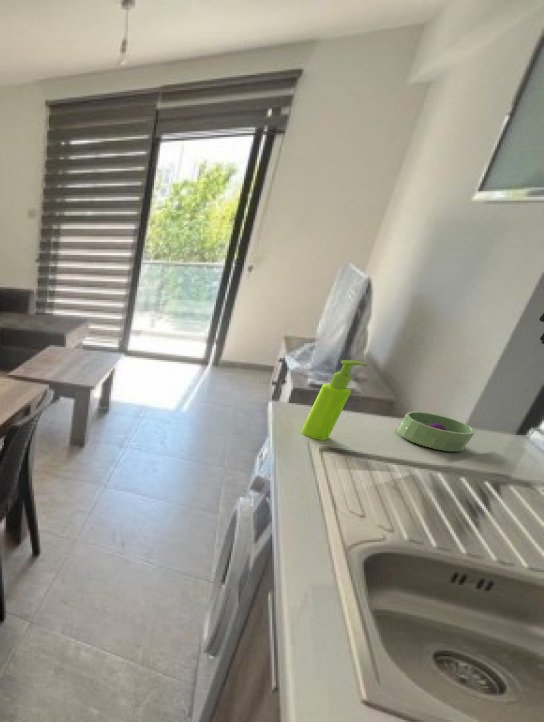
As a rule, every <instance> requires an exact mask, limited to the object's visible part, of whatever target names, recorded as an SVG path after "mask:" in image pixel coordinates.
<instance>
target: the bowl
mask: <svg viewBox="0 0 544 722" xmlns="http://www.w3.org/2000/svg"><path fill="white" fill-rule="evenodd" d="M432 423H437V424H441V425H443V426H444V427H445V428H446V430H447V431H445V430H440V429H437V428H433V427H430V426H427V425H429V424H432ZM396 432H397V434H398V435H399V436H401V437H402V438H404V439H405V440H407V441H409V442H410V443H413V444H415V443H416V444H415V445H418V444H419V445H418V446H421V445H422V446H421V447H424V446H425V447H424V448H427V447H429V448H428V449H431V448H433V449H432V450H435V449H436V451H441V450H442V452H461V451H464V449H465V448H466V446H467V445H468V444H469V442H470V440H471V439H472V438H473V436H474V434H475V432H476V430H475V429H474V428H473V427H472V426H470V425H468V424H467V423H464V422H462V421H460V420H457V419H454V418H452V417H451V418H450V417H448V416H443V415H440V414H435V413H430V412H423V411H408V412H407V413H406V414H405V415H404V417H403V419H402V421H401V422H400V424H399V426H398V427H397V429H396Z"/></svg>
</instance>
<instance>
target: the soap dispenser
mask: <svg viewBox="0 0 544 722" xmlns="http://www.w3.org/2000/svg"><path fill="white" fill-rule="evenodd" d="M340 364H342V367H341V369H340V371H336V372H334V374H333V376H332V378H331V381H330V382H329V383H323V384H322V385H321V388H320V390H319V393H318V394H317V396H316V398H315V401H314V403H313V405H312V407H311V409H310V410H309V413H308V415H307V418H306V419H305V422H304V424H303V427H302V428H301V434H303V435H304V436H306V437H308V438H311V439H315V440H321V441H326V440H328V439H329V438H330V435H331V434H332V431H333V430H334V427H335V425H336V423H337V421H338V419H339V417H340V415H341V413H342V411H343V409H344V408H345V406H346V403H347V401H348V399H349V397H350V395H351V393H352V390H351V389H350V388H348V385H349V383H350V381H351V379H352V375H351V374H350V372H351V369H352V368H353V366H362V367H368V364H366V363H364V362H363V361H359V360H354V359H353V360H352V359H344V360H343V359H342V360H340Z"/></svg>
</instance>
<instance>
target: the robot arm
mask: <svg viewBox="0 0 544 722" xmlns="http://www.w3.org/2000/svg"><path fill="white" fill-rule="evenodd" d="M538 321H540V322H541V323H544V312H543V313H542V314H541V316H540V317H539V320H538ZM539 341H541V342H540V344H542V345H544V332H543V333H542V335H540V338H539Z"/></svg>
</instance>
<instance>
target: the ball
mask: <svg viewBox="0 0 544 722" xmlns="http://www.w3.org/2000/svg"><path fill="white" fill-rule="evenodd" d="M427 426H430V427H433V428H437V429H440V430H445V431H447V430H446V428H445V427H444V426H443V425H441V424H437V423H432V424H429V425H427Z"/></svg>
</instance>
